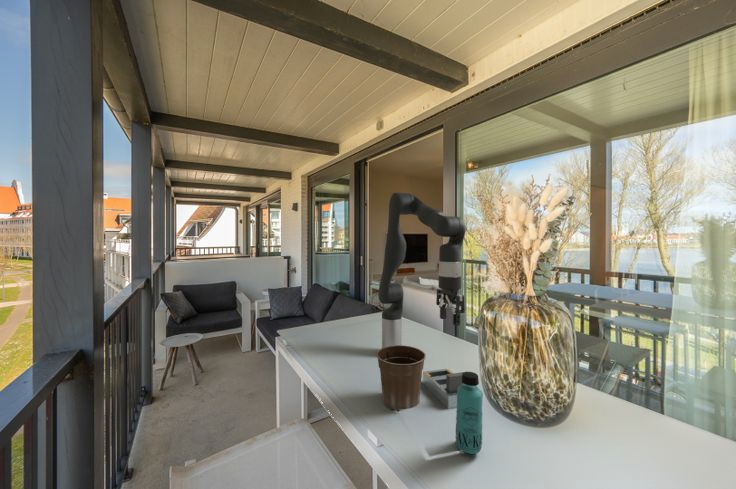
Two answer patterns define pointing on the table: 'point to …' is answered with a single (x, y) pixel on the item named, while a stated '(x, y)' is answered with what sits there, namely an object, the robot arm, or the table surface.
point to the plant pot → (401, 375)
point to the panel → (453, 382)
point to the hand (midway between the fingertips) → (449, 321)
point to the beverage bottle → (469, 414)
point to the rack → (440, 386)
